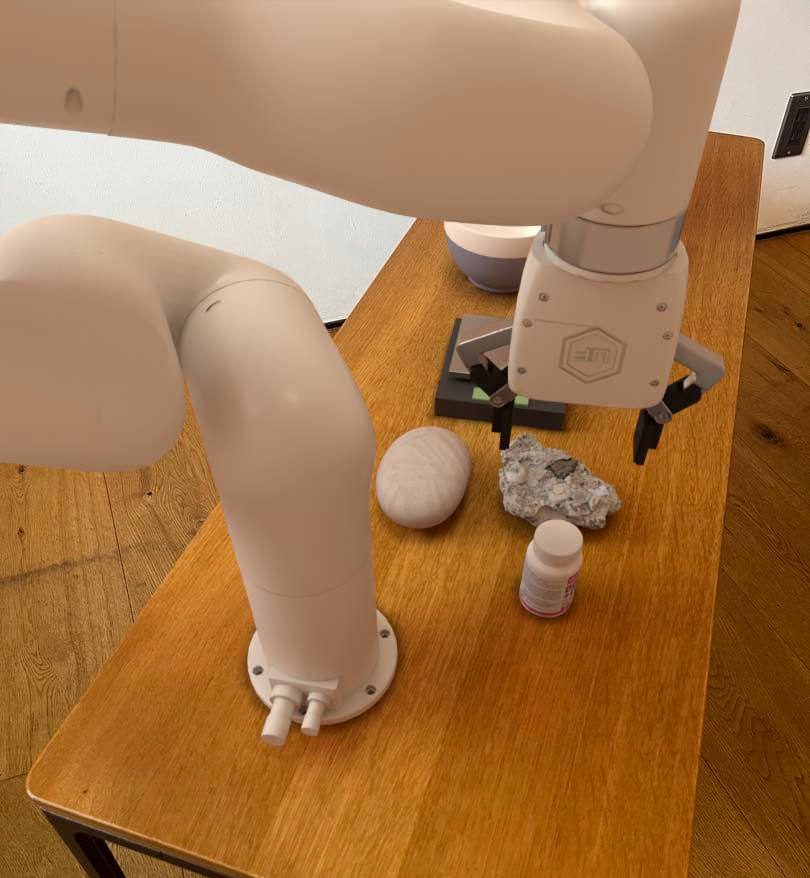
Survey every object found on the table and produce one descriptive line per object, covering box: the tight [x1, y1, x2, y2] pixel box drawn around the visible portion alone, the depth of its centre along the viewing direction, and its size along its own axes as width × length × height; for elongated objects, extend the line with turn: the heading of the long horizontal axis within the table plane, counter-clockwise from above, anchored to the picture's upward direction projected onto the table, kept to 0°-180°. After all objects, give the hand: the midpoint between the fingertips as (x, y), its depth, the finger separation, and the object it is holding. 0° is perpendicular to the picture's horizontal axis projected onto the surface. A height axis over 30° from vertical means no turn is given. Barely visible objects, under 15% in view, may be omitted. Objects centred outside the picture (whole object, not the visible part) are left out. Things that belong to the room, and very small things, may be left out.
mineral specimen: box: [497, 431, 623, 530], centre depth 76 cm, size 6×11×12 cm
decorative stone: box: [375, 425, 472, 530], centre depth 77 cm, size 13×9×5 cm
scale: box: [434, 317, 567, 432], centre depth 89 cm, size 15×14×3 cm
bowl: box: [443, 221, 541, 294], centre depth 101 cm, size 16×16×10 cm
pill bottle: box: [518, 520, 584, 618], centre depth 68 cm, size 5×5×8 cm
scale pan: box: [449, 313, 510, 379], centre depth 88 cm, size 11×12×1 cm
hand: (571, 444), depth 58 cm, fingers open, 9 cm apart
